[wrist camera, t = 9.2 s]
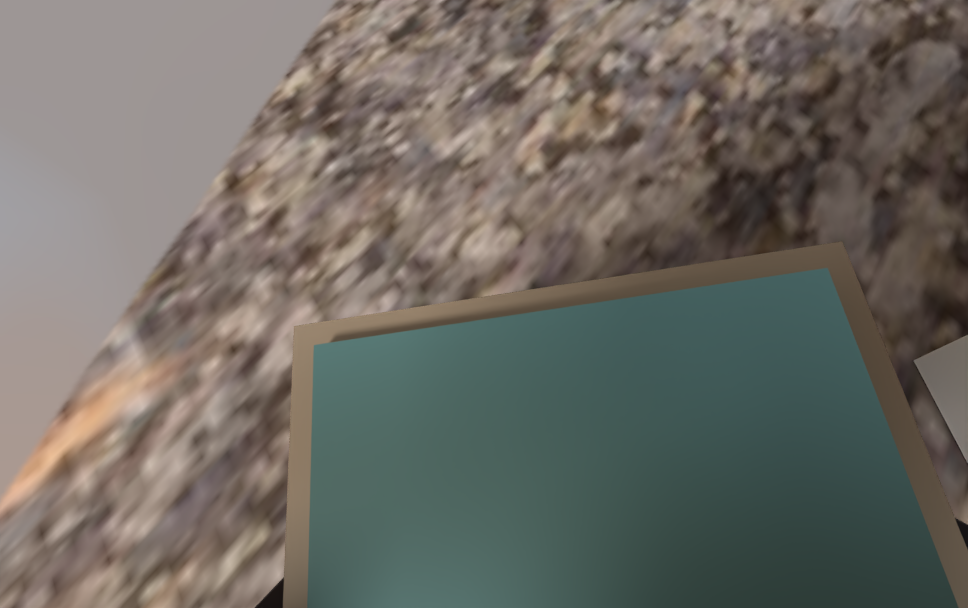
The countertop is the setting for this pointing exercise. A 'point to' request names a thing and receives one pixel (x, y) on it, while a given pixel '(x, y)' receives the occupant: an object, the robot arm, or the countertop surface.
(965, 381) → the bin
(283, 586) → the robot arm
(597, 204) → the countertop surface
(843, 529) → the wooden block
